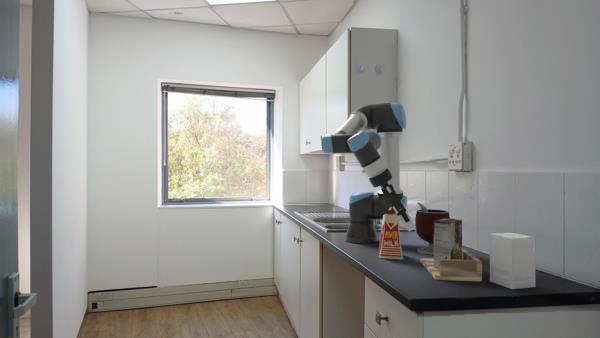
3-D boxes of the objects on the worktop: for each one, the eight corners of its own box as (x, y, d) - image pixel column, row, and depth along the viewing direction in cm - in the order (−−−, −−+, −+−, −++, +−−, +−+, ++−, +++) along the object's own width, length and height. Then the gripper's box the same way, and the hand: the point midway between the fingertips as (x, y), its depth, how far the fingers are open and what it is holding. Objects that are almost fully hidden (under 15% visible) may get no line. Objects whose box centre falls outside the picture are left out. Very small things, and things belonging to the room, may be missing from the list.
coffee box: (444, 262, 137) (444, 217, 137) (462, 266, 132) (462, 219, 132) (432, 267, 130) (432, 220, 130) (451, 271, 126) (451, 222, 126)
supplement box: (536, 287, 113) (537, 236, 113) (512, 290, 110) (512, 238, 110) (511, 278, 121) (511, 231, 121) (488, 281, 119) (488, 233, 119)
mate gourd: (457, 253, 157) (457, 204, 157) (432, 256, 151) (432, 206, 151) (429, 246, 171) (429, 201, 171) (405, 249, 165) (405, 202, 165)
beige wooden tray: (420, 261, 144) (420, 244, 144) (458, 262, 143) (458, 245, 143) (435, 279, 120) (435, 260, 120) (482, 281, 119) (482, 261, 119)
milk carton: (403, 259, 147) (403, 207, 147) (378, 258, 149) (378, 206, 149) (401, 254, 156) (402, 205, 156) (378, 253, 158) (378, 204, 157)
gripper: (365, 174, 146) (393, 221, 147) (371, 182, 121) (405, 239, 122) (382, 164, 145) (410, 212, 146) (392, 170, 120) (426, 228, 121)
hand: (408, 224), depth 134 cm, fingers open, 13 cm apart
